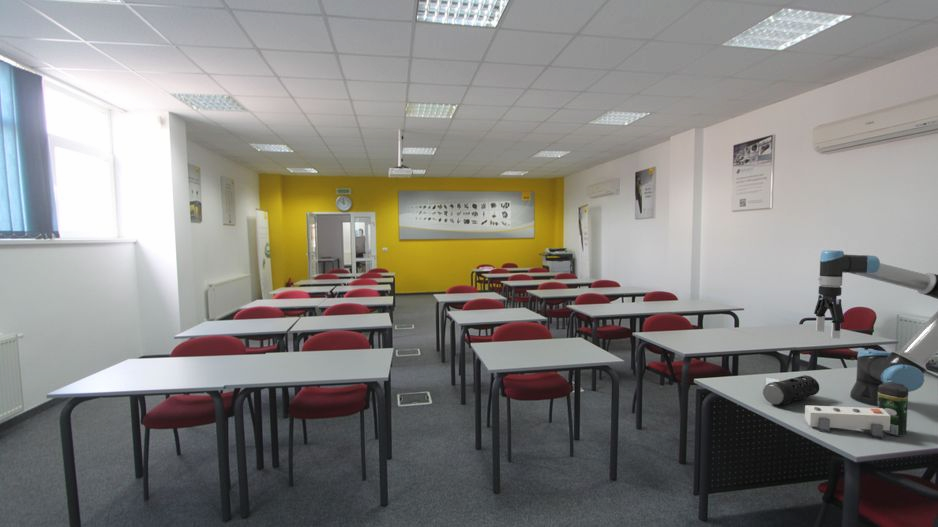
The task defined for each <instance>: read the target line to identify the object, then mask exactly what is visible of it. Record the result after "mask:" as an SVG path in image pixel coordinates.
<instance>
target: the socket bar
mask: <svg viewBox="0 0 938 527" xmlns="http://www.w3.org/2000/svg"><path fill="white" fill-rule="evenodd" d="M890 417H891V416H890V415H889V414H888V413H887V412H886V411H885V410H884V409H883V408H876V407H858V406H857V407H856V406H853V407H852V406H833V405H831V406H829V405H805V406H804V420H805V421H806V423H807V424H808V426H809V427H814V428H815V427H819V418H827V419H830V428H834V429H835V428H836V429H852V430H853V429H854V430H861V429H869V430H871V424H880V425H883V430H888V431H890Z"/></svg>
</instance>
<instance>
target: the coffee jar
mask: <svg viewBox="0 0 938 527" xmlns="http://www.w3.org/2000/svg"><path fill="white" fill-rule="evenodd" d="M908 401H909V392H908V388H907V387H905V386H904V385H903V384H898V383H893V382H887V383H882V384H880V385H879V386H878V404H877V406H876V407H877V408H883V409H884V410H885V411H886V412H887V413H888V414H889V415H890V416H891V417H890V431H888V430H883V434H885V435H888V436H896V437H902V436H904V435H906V433H907V425H908V424H907V423H908V422H907V421H908V403H909V402H908Z"/></svg>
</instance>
